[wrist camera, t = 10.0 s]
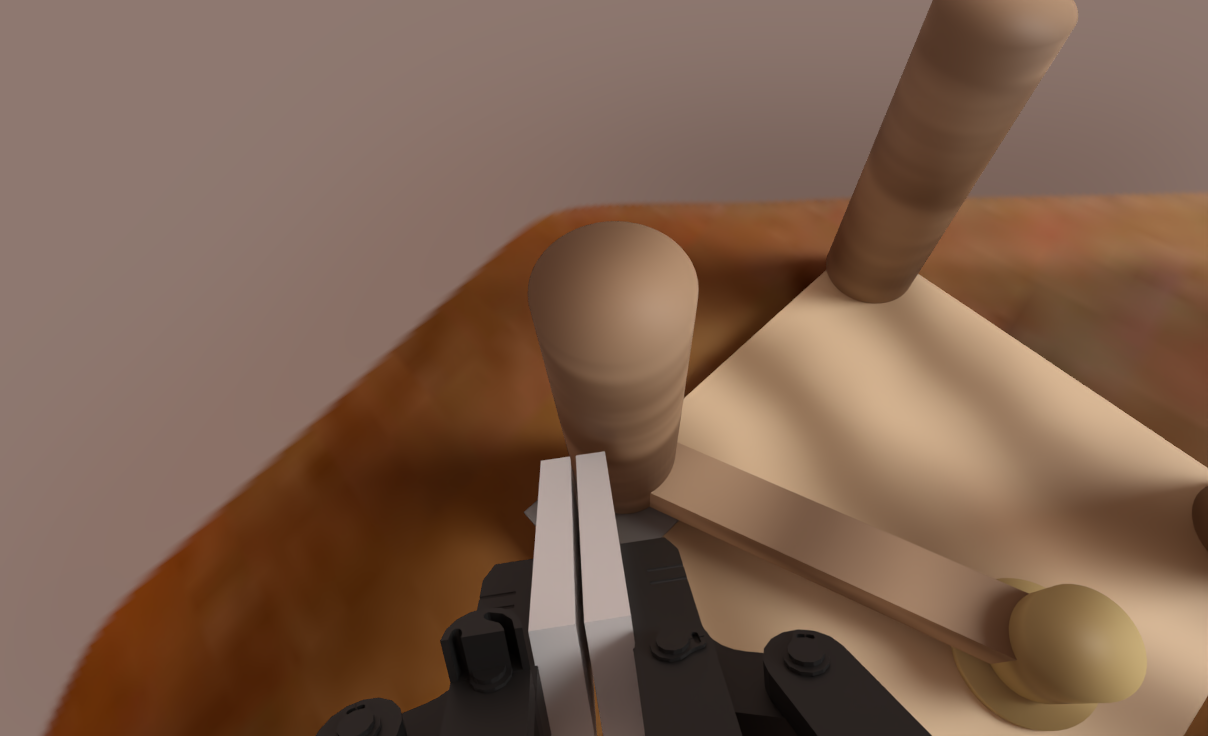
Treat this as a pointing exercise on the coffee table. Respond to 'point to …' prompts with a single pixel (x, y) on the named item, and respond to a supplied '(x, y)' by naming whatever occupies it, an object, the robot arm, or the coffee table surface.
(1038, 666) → the hinged leg
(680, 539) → the stool seat
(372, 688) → the coffee table surface
